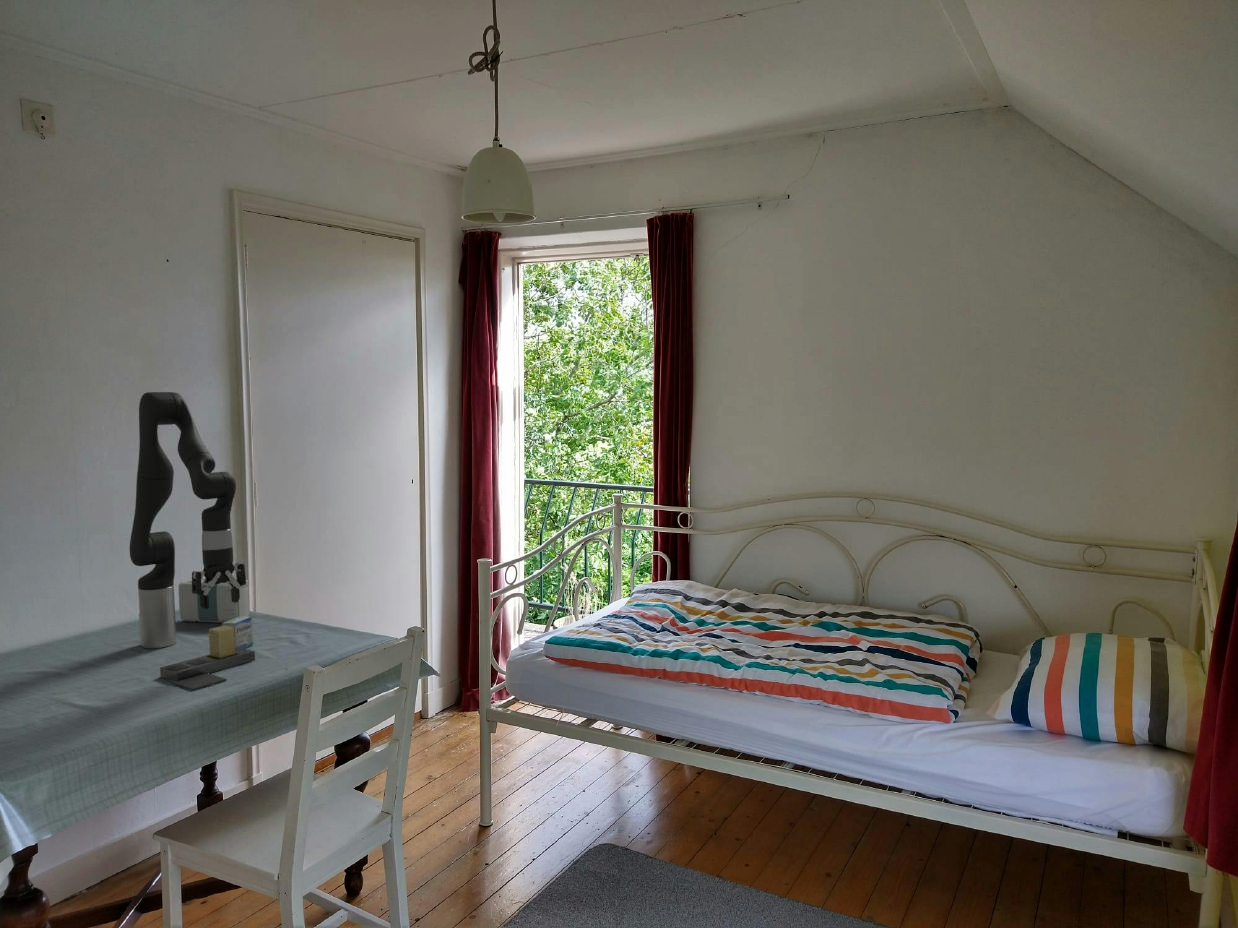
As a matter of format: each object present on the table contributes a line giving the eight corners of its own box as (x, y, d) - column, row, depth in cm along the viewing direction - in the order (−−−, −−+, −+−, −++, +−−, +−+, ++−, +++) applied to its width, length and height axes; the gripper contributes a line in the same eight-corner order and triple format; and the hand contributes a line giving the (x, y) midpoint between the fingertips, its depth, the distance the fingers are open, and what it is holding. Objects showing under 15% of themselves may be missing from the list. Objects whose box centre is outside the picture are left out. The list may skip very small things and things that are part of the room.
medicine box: (236, 653, 246) (235, 623, 245) (222, 652, 247) (221, 622, 246) (253, 645, 254) (252, 616, 253) (240, 644, 255) (238, 615, 254)
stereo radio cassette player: (178, 622, 280) (175, 561, 278) (195, 616, 288) (192, 557, 286) (237, 625, 276) (235, 563, 275) (252, 618, 284) (250, 558, 283)
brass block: (210, 665, 235) (208, 629, 234) (225, 660, 239) (224, 625, 238) (220, 668, 233) (218, 631, 232) (235, 663, 236) (233, 627, 236)
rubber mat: (172, 684, 220) (172, 682, 220) (206, 674, 227) (206, 672, 227) (192, 690, 215) (192, 688, 215) (226, 680, 222) (226, 678, 222)
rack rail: (160, 676, 226) (160, 667, 225) (237, 655, 244) (237, 646, 244) (177, 682, 221) (177, 672, 221) (255, 660, 239) (254, 650, 239)
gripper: (233, 541, 241) (236, 598, 242) (184, 549, 229) (187, 609, 231) (249, 543, 237) (252, 601, 238) (200, 551, 225) (203, 612, 226)
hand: (220, 605), depth 234 cm, fingers open, 8 cm apart
